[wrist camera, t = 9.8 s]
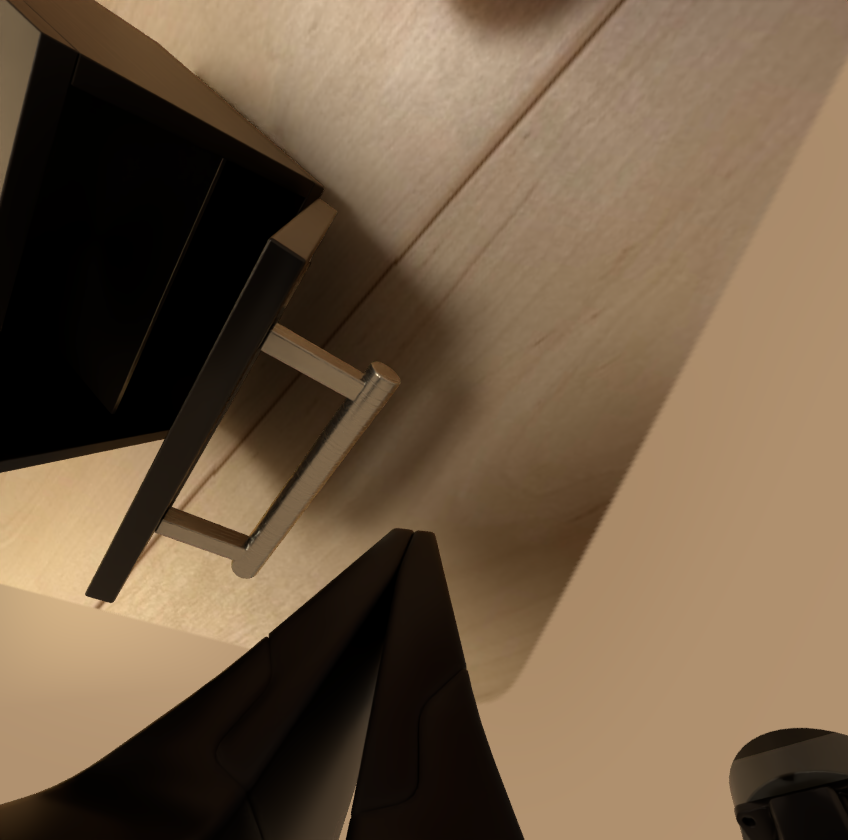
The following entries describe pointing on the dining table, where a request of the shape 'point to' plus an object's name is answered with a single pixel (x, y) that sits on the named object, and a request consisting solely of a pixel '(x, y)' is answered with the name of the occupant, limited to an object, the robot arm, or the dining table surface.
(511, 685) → the dining table surface
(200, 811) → the robot arm
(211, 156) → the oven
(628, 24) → the dining table surface
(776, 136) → the dining table surface
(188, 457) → the oven door
